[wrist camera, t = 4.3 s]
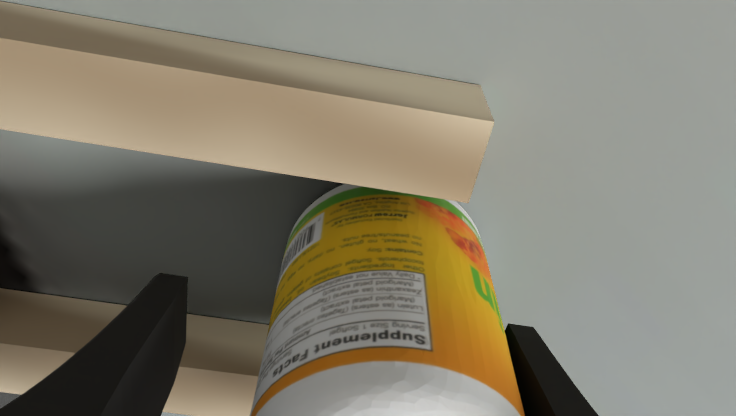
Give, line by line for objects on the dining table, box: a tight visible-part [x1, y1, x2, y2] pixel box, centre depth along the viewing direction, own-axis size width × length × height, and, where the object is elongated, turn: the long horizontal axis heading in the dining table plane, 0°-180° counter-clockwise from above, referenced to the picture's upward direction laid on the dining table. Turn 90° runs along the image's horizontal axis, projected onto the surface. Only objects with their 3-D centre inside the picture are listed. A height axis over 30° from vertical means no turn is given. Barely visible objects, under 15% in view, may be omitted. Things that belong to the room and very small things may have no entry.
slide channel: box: [0, 1, 494, 416], centre depth 15 cm, size 10×14×2 cm
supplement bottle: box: [250, 184, 525, 416], centre depth 13 cm, size 5×5×10 cm
